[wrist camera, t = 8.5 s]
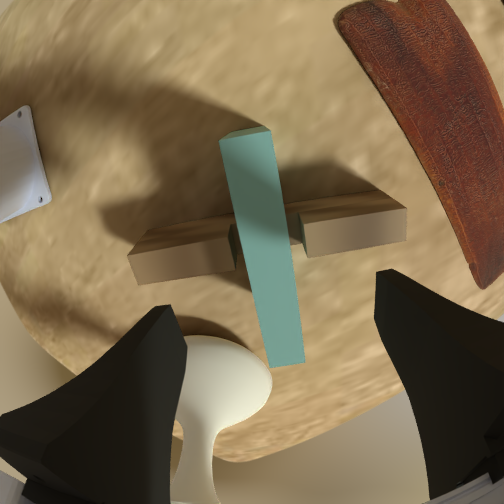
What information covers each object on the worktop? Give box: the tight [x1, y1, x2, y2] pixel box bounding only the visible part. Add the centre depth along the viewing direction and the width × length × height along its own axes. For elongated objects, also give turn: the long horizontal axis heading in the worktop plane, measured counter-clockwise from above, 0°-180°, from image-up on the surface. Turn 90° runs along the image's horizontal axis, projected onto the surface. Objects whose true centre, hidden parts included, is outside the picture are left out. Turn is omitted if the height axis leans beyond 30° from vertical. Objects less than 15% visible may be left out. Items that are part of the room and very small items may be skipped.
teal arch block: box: [219, 126, 305, 368], centre depth 16 cm, size 12×2×7 cm, turn 11°
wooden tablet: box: [338, 0, 504, 289], centre depth 17 cm, size 27×10×2 cm, turn 38°
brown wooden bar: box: [127, 190, 407, 285], centre depth 18 cm, size 16×2×4 cm, turn 101°
